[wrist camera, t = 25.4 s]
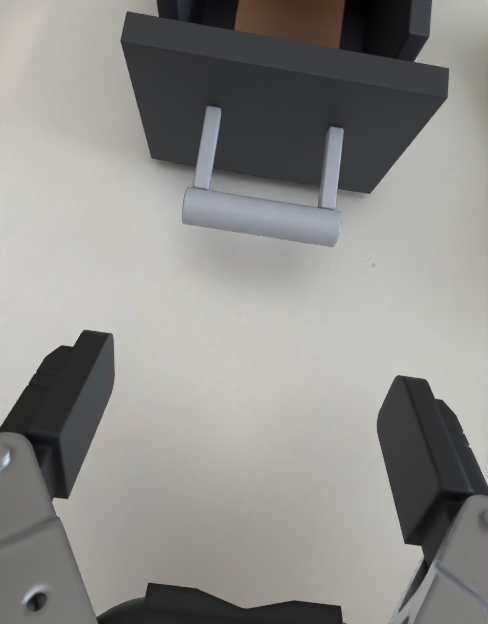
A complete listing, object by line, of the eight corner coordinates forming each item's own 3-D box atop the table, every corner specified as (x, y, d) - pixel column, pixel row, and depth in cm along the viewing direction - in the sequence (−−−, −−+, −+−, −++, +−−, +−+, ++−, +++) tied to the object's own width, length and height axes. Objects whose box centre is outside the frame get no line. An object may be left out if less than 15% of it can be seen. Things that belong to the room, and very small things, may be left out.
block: (223, 133, 22) (226, 71, 18) (236, 55, 23) (241, -23, 18) (311, 148, 22) (335, 90, 18) (320, 70, 23) (346, -4, 19)
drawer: (361, 285, 22) (439, 230, 15) (133, 250, 22) (90, 175, 14) (390, -24, 26) (466, -201, 18) (193, -61, 25) (184, -259, 17)
